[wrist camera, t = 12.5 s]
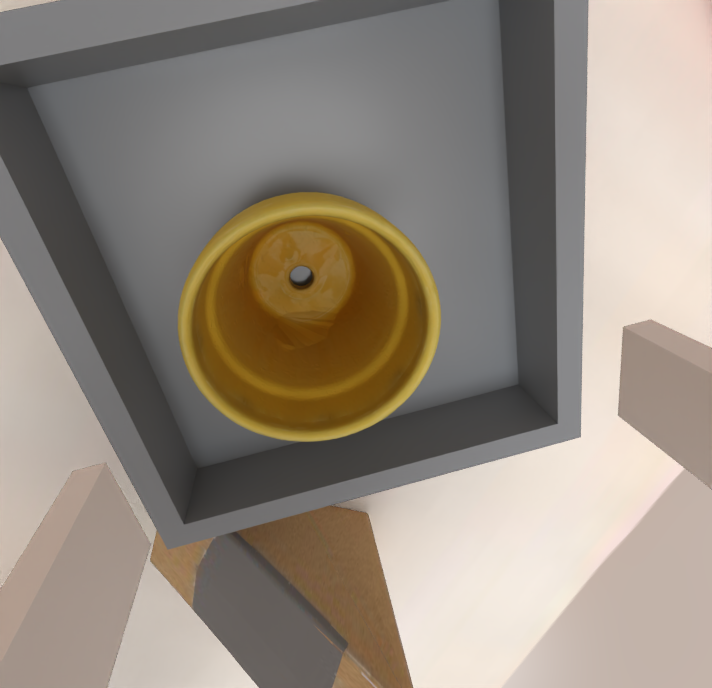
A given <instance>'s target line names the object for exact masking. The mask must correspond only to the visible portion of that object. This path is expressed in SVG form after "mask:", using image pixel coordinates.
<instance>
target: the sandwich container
mask: <svg viewBox="0 0 712 688" xmlns="http://www.w3.org/2000/svg"><path fill="white" fill-rule="evenodd" d="M150 561H151V563H152V564H153V565H154V566H155V567H156V568H157V569H158V570H159V571H160V572H161V574H162V575H163V576H164V577H165V578H166V579H167V580H168V581H169V583H170V584H171V585H172V586H173V587H174V588H175V589H176V591H177V592H178V593H179V594H180V595H181V596H182V597H183V599H184V600H185V601H186V602H187V603H188V604H189V605H190V607H191V608H192V609H193V610H194V611H195V612H196V614H197V615H198V616H199V617H200V618H201V619H202V621H203V622H204V623H205V624H206V625H207V626H208V628H209V629H210V630H211V631H212V632H213V633H214V635H215V636H216V637H217V638H218V639H219V640H220V641H221V643H222V644H223V645H224V646H225V647H226V648H227V650H228V651H229V652H230V653H231V655H232V656H233V657H234V658H235V659H236V661H237V662H238V663H239V664H240V665H241V667H242V668H243V669H244V670H245V672H246V673H247V674H248V675H249V676H250V677H251V679H252V680H253V681H254V682H255V683H256V684H257V686H258V687H259V688H413V685H412V681H411V677H410V673H409V670H408V666H407V662H406V658H405V654H404V650H403V646H402V643H401V639H400V635H399V631H398V627H397V623H396V619H395V616H394V612H393V608H392V604H391V600H390V596H389V592H388V589H387V585H386V581H385V577H384V573H383V569H382V565H381V562H380V558H379V554H378V550H377V546H376V542H375V539H374V535H373V531H372V527H371V523H370V520H369V516H368V514H367V513H364V512H359V511H354V510H349V509H344V508H339V507H334V506H326V507H323V508H319V509H315V510H312V511H308V512H304V513H301V514H297V515H293V516H290V517H286V518H282V519H279V520H275V521H271V522H268V523H264V524H260V525H257V526H253V527H249V528H246V529H242V530H238V531H235V532H231V533H227V534H224V535H220V536H216V537H213V538H209V539H205V540H202V541H198V542H194V543H191V544H187V545H183V546H180V547H176V548H172V549H169V550H168V549H167V548H166V546H165V544H164V542H163V540H162V538H161V536H160V534H159V533H158V531H157V532H156V536H155V541H154V545H153V550H152V554H151V558H150Z"/></svg>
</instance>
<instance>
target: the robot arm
mask: <svg viewBox="0 0 712 688" xmlns="http://www.w3.org/2000/svg"><path fill="white" fill-rule="evenodd" d="M618 416H619V417H621V418H622V419H623V420H624V421H626V422H627V423H628V424H629V425H631V426H632V427H633V428H635V429H636V430H637V431H638V432H640V433H641V434H642V435H643V436H645V437H646V438H647V439H648V440H650V441H651V442H652V443H654V444H655V445H656V446H657V447H659V448H660V449H661V450H662V451H664V452H665V453H666V454H667V455H669V456H670V457H671V458H673V459H674V460H675V461H676V462H678V463H679V464H680V465H681V466H683V467H684V468H685V469H686V470H688V471H689V472H690V473H691V474H693V475H694V476H695V477H697V478H698V479H699V480H701V481H702V482H703V483H704V484H705V485H707V486H708V487H709V488H710V489H712V348H711V347H709V346H706V345H704V344H702V343H700V342H698V341H696V340H694V339H691V338H689V337H687V336H685V335H683V334H681V333H679V332H677V331H674V330H672V329H670V328H668V327H666V326H664V325H662V324H659V323H657V322H655V321H653V320H647V321H643V322H640V323H636V324H632V325H628V326H624V327H623V337H622V355H621V372H620V389H619V407H618ZM150 546H151V544H150V542H149V540H148V538H147V536H146V535H145V533H144V531H143V529H142V527H141V525H140V524H139V522H138V520H137V518H136V516H135V515H134V513H133V511H132V509H131V507H130V506H129V504H128V502H127V500H126V498H125V496H124V495H123V493H122V491H121V489H120V487H119V486H118V484H117V482H116V480H115V478H114V476H113V475H112V473H111V471H110V469H109V467H108V466H107V464H106V463H102V464H98V465H94V466H90V467H86V468H83V469H79V470H75V471H73V472H72V473H71V475H70V477H69V478H68V480H67V482H66V483H65V485H64V487H63V488H62V490H61V491H60V493H59V495H58V496H57V498H56V500H55V501H54V503H53V505H52V506H51V508H50V509H49V511H48V513H47V514H46V516H45V518H44V519H43V521H42V523H41V524H40V526H39V527H38V529H37V531H36V532H35V534H34V536H33V537H32V539H31V541H30V542H29V544H28V545H27V547H26V549H25V550H24V552H23V554H22V555H21V557H20V559H19V560H18V562H17V563H16V565H15V567H14V568H13V570H12V572H11V573H10V575H9V577H8V578H7V580H6V582H5V583H4V585H3V586H2V588H1V590H0V688H107V687H108V683H109V680H110V677H111V673H112V670H113V667H114V664H115V660H116V657H117V654H118V650H119V647H120V644H121V641H122V637H123V634H124V631H125V627H126V624H127V621H128V618H129V614H130V611H131V608H132V605H133V601H134V598H135V595H136V591H137V588H138V585H139V582H140V578H141V575H142V572H143V568H144V565H145V562H146V559H147V555H148V552H149V549H150Z"/></svg>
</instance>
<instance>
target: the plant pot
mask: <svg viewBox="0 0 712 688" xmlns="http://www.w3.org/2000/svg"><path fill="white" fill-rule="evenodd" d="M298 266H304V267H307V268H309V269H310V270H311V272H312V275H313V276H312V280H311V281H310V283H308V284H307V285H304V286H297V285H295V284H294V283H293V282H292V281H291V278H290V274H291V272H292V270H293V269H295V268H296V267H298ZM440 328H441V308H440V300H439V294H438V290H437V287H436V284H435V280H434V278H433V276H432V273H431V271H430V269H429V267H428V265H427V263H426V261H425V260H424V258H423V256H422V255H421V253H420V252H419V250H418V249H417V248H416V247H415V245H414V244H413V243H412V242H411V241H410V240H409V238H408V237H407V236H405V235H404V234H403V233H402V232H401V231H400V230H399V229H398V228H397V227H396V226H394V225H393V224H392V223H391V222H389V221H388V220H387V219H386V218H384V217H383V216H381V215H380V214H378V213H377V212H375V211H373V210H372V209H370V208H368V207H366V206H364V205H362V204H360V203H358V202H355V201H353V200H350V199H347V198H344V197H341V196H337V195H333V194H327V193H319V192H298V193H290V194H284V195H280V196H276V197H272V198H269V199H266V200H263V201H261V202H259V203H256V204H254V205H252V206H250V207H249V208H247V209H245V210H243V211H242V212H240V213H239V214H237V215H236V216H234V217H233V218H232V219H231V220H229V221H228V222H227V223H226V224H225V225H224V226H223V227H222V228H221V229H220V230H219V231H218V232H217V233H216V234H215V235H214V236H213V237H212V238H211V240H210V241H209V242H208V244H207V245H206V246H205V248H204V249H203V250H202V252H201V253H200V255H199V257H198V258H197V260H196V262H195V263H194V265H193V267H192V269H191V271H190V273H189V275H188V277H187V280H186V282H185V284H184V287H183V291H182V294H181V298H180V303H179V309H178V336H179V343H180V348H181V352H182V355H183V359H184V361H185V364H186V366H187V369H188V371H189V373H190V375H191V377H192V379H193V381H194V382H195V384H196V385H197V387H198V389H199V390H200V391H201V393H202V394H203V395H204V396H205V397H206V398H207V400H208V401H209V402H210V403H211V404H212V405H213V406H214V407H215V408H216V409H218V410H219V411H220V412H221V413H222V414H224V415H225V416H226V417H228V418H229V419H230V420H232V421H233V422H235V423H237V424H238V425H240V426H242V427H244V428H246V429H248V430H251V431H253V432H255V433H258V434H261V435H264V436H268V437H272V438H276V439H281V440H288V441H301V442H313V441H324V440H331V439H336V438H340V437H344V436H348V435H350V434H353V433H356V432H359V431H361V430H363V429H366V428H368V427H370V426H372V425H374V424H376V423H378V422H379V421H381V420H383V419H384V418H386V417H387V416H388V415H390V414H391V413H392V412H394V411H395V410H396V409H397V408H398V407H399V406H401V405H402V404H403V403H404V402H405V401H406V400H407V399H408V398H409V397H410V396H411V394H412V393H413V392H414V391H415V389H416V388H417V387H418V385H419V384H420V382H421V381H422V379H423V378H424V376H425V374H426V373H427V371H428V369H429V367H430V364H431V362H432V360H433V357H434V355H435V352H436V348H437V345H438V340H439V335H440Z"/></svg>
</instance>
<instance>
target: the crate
mask: <svg viewBox="0 0 712 688" xmlns="http://www.w3.org/2000/svg"><path fill="white" fill-rule="evenodd" d="M587 47H588V0H60V1H55V2H50V3H45V4H40V5H35V6H29V7H24V8H19V9H14V10H9V11H4V12H0V237H1V239H2V241H3V243H4V245H5V247H6V249H7V250H8V252H9V254H10V256H11V258H12V260H13V262H14V264H15V265H16V267H17V269H18V271H19V273H20V275H21V277H22V279H23V280H24V282H25V284H26V286H27V288H28V290H29V292H30V293H31V295H32V297H33V299H34V301H35V303H36V305H37V307H38V308H39V310H40V312H41V314H42V316H43V318H44V320H45V321H46V323H47V325H48V327H49V329H50V331H51V333H52V335H53V336H54V338H55V340H56V342H57V344H58V346H59V348H60V350H61V351H62V353H63V355H64V357H65V359H66V361H67V363H68V364H69V366H70V368H71V370H72V372H73V374H74V376H75V378H76V379H77V381H78V383H79V385H80V387H81V389H82V391H83V392H84V394H85V396H86V398H87V400H88V402H89V404H90V406H91V407H92V409H93V411H94V413H95V415H96V417H97V419H98V420H99V422H100V424H101V426H102V428H103V430H104V432H105V434H106V435H107V437H108V439H109V441H110V443H111V445H112V447H113V449H114V450H115V452H116V454H117V456H118V458H119V460H120V462H121V463H122V465H123V467H124V469H125V471H126V473H127V475H128V477H129V478H130V480H131V482H132V484H133V486H134V488H135V490H136V491H137V493H138V495H139V497H140V499H141V501H142V503H143V505H144V506H145V508H146V510H147V512H148V514H149V516H150V518H151V519H152V521H153V523H154V525H155V527H156V529H157V531H158V533H159V534H160V536H161V538H162V540H163V542H164V544H165V546H166V548H167V549H168V550H169V549H172V548H176V547H180V546H183V545H187V544H191V543H194V542H198V541H202V540H205V539H209V538H213V537H216V536H220V535H224V534H227V533H231V532H235V531H238V530H242V529H246V528H249V527H253V526H257V525H260V524H264V523H268V522H271V521H275V520H279V519H282V518H286V517H290V516H293V515H297V514H301V513H304V512H308V511H312V510H315V509H319V508H323V507H326V506H330V505H334V504H337V503H341V502H345V501H348V500H352V499H356V498H359V497H363V496H367V495H370V494H374V493H378V492H381V491H385V490H389V489H392V488H396V487H400V486H403V485H407V484H411V483H414V482H418V481H422V480H425V479H429V478H433V477H436V476H440V475H443V474H447V473H451V472H454V471H458V470H462V469H465V468H469V467H473V466H476V465H480V464H484V463H487V462H491V461H495V460H498V459H502V458H506V457H509V456H513V455H517V454H520V453H524V452H528V451H531V450H535V449H539V448H542V447H546V446H550V445H553V444H557V443H561V442H564V441H568V440H572V439H575V438H579V437H581V390H582V333H583V276H584V219H585V162H586V104H587ZM298 192H319V193H327V194H333V195H337V196H341V197H344V198H347V199H350V200H353V201H355V202H358V203H360V204H362V205H364V206H366V207H368V208H370V209H372V210H373V211H375V212H377V213H378V214H380V215H381V216H383V217H384V218H386V219H387V220H388V221H389V222H391V223H392V224H393V225H394V226H396V227H397V228H398V229H399V230H400V231H401V232H402V233H403V234H404V235H405V236H407V237H408V238H409V240H410V241H411V242H412V243H413V244H414V245H415V247H416V248H417V249H418V250H419V252H420V253H421V255H422V256H423V258H424V260H425V261H426V263H427V265H428V267H429V269H430V271H431V273H432V276H433V278H434V280H435V284H436V287H437V290H438V294H439V300H440V308H441V328H440V335H439V340H438V345H437V348H436V352H435V355H434V357H433V360H432V362H431V364H430V367H429V369H428V371H427V373H426V374H425V376H424V378H423V379H422V381H421V382H420V384H419V385H418V387H417V388H416V389H415V391H414V392H413V393H412V394H411V396H410V397H409V398H408V399H407V400H406V401H405V402H404V403H403V404H402V405H401V406H399V407H398V408H397V409H396V410H395V411H394V412H392V413H391V414H390V415H388V416H387V417H386V418H384V419H383V420H381V421H379V422H378V423H376V424H374V425H372V426H370V427H368V428H366V429H363V430H361V431H359V432H356V433H353V434H350V435H348V436H344V437H340V438H336V439H331V440H324V441H313V442H301V441H288V440H281V439H276V438H272V437H268V436H264V435H261V434H258V433H255V432H253V431H251V430H248V429H246V428H244V427H242V426H240V425H238V424H237V423H235V422H233V421H232V420H230V419H229V418H228V417H226V416H225V415H224V414H222V413H221V412H220V411H219V410H218V409H216V408H215V407H214V406H213V405H212V404H211V403H210V402H209V401H208V400H207V398H206V397H205V396H204V395H203V394H202V393H201V391H200V390H199V389H198V387H197V385H196V384H195V382H194V381H193V379H192V377H191V375H190V373H189V371H188V369H187V366H186V364H185V361H184V359H183V355H182V352H181V348H180V343H179V336H178V309H179V303H180V298H181V294H182V291H183V287H184V284H185V282H186V280H187V277H188V275H189V273H190V271H191V269H192V267H193V265H194V263H195V262H196V260H197V258H198V257H199V255H200V253H201V252H202V250H203V249H204V248H205V246H206V245H207V244H208V242H209V241H210V240H211V238H212V237H213V236H214V235H215V234H216V233H217V232H218V231H219V230H220V229H221V228H222V227H223V226H224V225H225V224H226V223H227V222H228V221H229V220H231V219H232V218H233V217H234V216H236V215H237V214H239V213H240V212H242V211H243V210H245V209H247V208H249V207H250V206H252V205H254V204H256V203H259V202H261V201H263V200H266V199H269V198H272V197H276V196H280V195H284V194H290V193H298ZM312 276H313V275H312V272H311V270H310V269H309V268H307V267H304V266H298V267H296V268H295V269H293V270H292V272H291V274H290V278H291V281H292V282H293V283H294V284H295V285H297V286H304V285H307V284H308V283H310V281H311V280H312Z"/></svg>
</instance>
